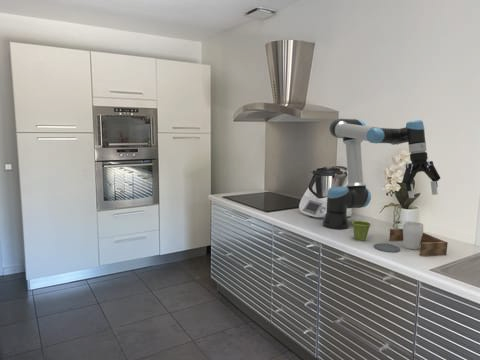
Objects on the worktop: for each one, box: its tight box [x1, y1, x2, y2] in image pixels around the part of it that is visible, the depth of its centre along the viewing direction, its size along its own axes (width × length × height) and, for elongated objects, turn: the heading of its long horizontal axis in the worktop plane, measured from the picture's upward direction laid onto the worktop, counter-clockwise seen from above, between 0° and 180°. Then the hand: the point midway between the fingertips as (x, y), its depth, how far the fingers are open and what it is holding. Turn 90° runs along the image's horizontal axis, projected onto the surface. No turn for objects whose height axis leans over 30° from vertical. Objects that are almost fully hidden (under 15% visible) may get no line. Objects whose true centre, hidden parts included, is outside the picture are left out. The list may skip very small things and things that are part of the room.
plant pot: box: [351, 220, 372, 241], centre depth 185 cm, size 9×9×9 cm
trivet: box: [373, 242, 401, 253], centre depth 171 cm, size 12×12×1 cm
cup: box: [402, 221, 424, 250], centre depth 173 cm, size 9×9×12 cm
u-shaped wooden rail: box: [388, 228, 448, 257], centre depth 174 cm, size 14×24×6 cm, turn 11°
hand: (423, 196), depth 170 cm, fingers open, 13 cm apart
